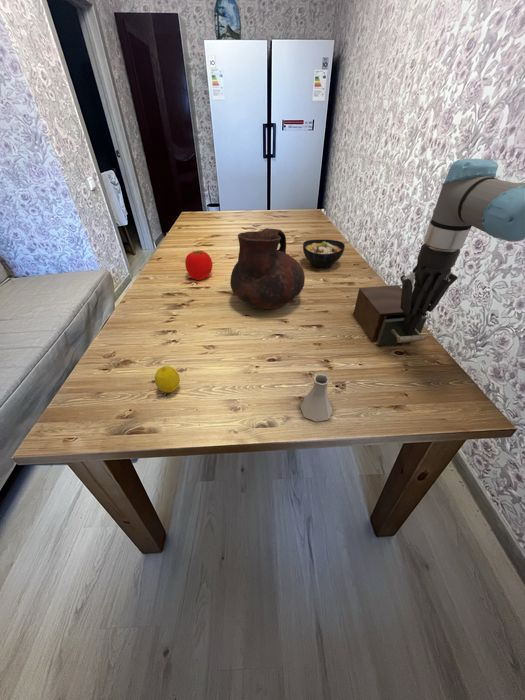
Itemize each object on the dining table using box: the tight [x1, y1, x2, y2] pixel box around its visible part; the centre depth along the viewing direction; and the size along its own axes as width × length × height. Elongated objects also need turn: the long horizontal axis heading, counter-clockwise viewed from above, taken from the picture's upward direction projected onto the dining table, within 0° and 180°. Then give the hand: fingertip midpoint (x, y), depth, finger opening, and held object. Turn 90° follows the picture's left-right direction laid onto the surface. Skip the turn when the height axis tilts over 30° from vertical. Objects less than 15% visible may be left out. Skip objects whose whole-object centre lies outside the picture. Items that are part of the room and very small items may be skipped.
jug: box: [229, 227, 306, 310], centre depth 94 cm, size 25×25×25 cm
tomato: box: [184, 250, 214, 281], centre depth 113 cm, size 10×11×11 cm
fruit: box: [154, 365, 181, 393], centre depth 67 cm, size 6×6×8 cm
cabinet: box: [352, 284, 405, 343], centre depth 86 cm, size 15×13×10 cm
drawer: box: [376, 314, 428, 346], centre depth 82 cm, size 19×12×8 cm, turn 7°
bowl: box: [302, 239, 346, 270], centre depth 121 cm, size 17×17×10 cm
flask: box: [300, 373, 333, 423], centre depth 62 cm, size 7×7×10 cm
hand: (406, 333), depth 76 cm, fingers closed
